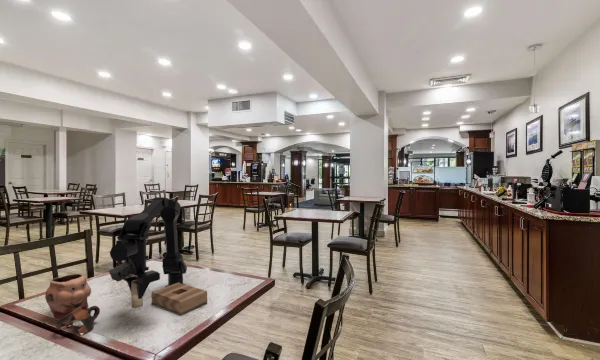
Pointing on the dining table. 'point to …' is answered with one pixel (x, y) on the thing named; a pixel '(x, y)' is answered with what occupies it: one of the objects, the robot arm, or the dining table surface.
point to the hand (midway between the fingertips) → (137, 297)
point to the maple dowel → (135, 296)
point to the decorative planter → (67, 294)
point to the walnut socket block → (179, 298)
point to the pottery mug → (80, 318)
